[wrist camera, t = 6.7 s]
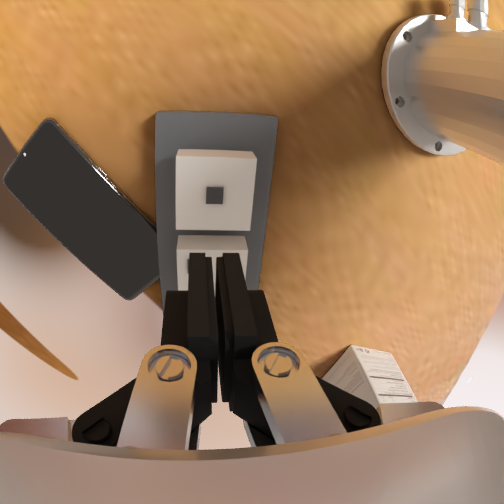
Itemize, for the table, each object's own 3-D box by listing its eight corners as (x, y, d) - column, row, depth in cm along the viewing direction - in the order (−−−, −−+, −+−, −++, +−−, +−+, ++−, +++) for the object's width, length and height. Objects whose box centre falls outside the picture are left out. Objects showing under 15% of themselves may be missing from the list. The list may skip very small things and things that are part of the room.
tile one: (178, 149, 19) (175, 157, 17) (252, 151, 20) (257, 159, 18) (178, 216, 21) (175, 231, 19) (246, 217, 22) (250, 232, 20)
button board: (158, 111, 20) (155, 113, 18) (274, 115, 21) (278, 117, 20) (168, 338, 30) (167, 349, 29) (248, 338, 31) (250, 349, 30)
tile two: (178, 235, 22) (176, 251, 20) (244, 236, 22) (248, 251, 21) (180, 289, 24) (178, 307, 22) (240, 289, 25) (243, 307, 23)
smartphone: (128, 304, 27) (-2, 181, 19) (130, 296, 28) (5, 177, 20) (187, 258, 25) (47, 113, 18) (187, 251, 26) (53, 111, 18)
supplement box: (358, 386, 40) (389, 463, 29) (316, 381, 37) (345, 469, 26) (392, 351, 37) (434, 429, 26) (351, 342, 34) (394, 434, 23)
